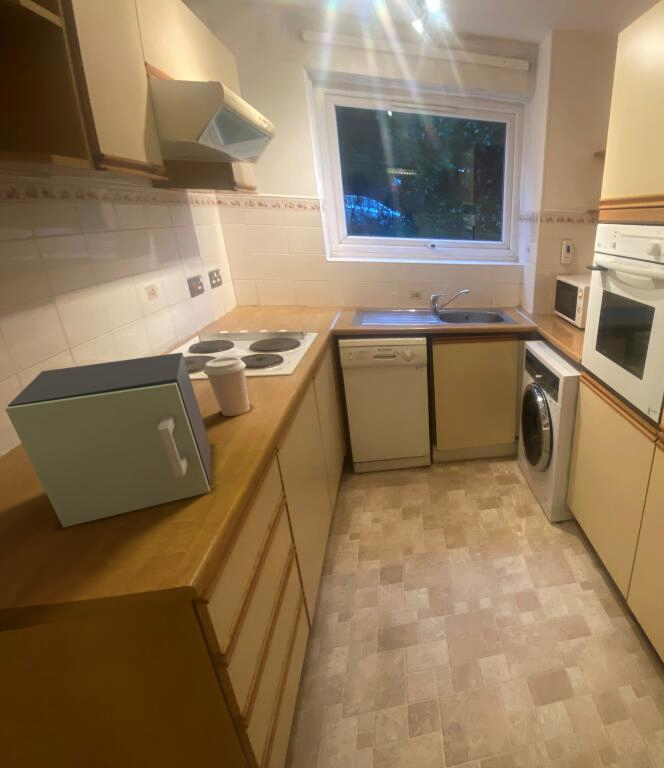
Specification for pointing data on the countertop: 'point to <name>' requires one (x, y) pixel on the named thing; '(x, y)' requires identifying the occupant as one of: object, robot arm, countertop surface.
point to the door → (111, 451)
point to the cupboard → (122, 387)
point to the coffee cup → (229, 384)
